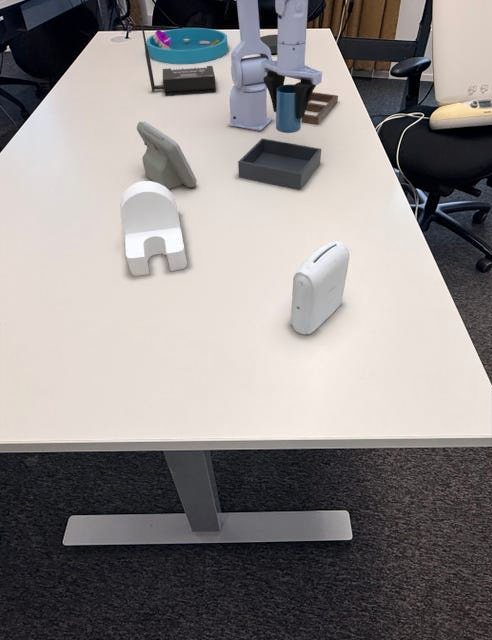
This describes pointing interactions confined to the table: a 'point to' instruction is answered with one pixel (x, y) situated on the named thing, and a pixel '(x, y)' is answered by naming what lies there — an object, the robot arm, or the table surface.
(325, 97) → the rack
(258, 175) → the dark grey tray
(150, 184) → the bracket
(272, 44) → the media streaming box
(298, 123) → the cup
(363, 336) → the table surface
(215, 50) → the teal round tray
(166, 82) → the wireless controller
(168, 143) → the digital clock
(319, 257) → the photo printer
